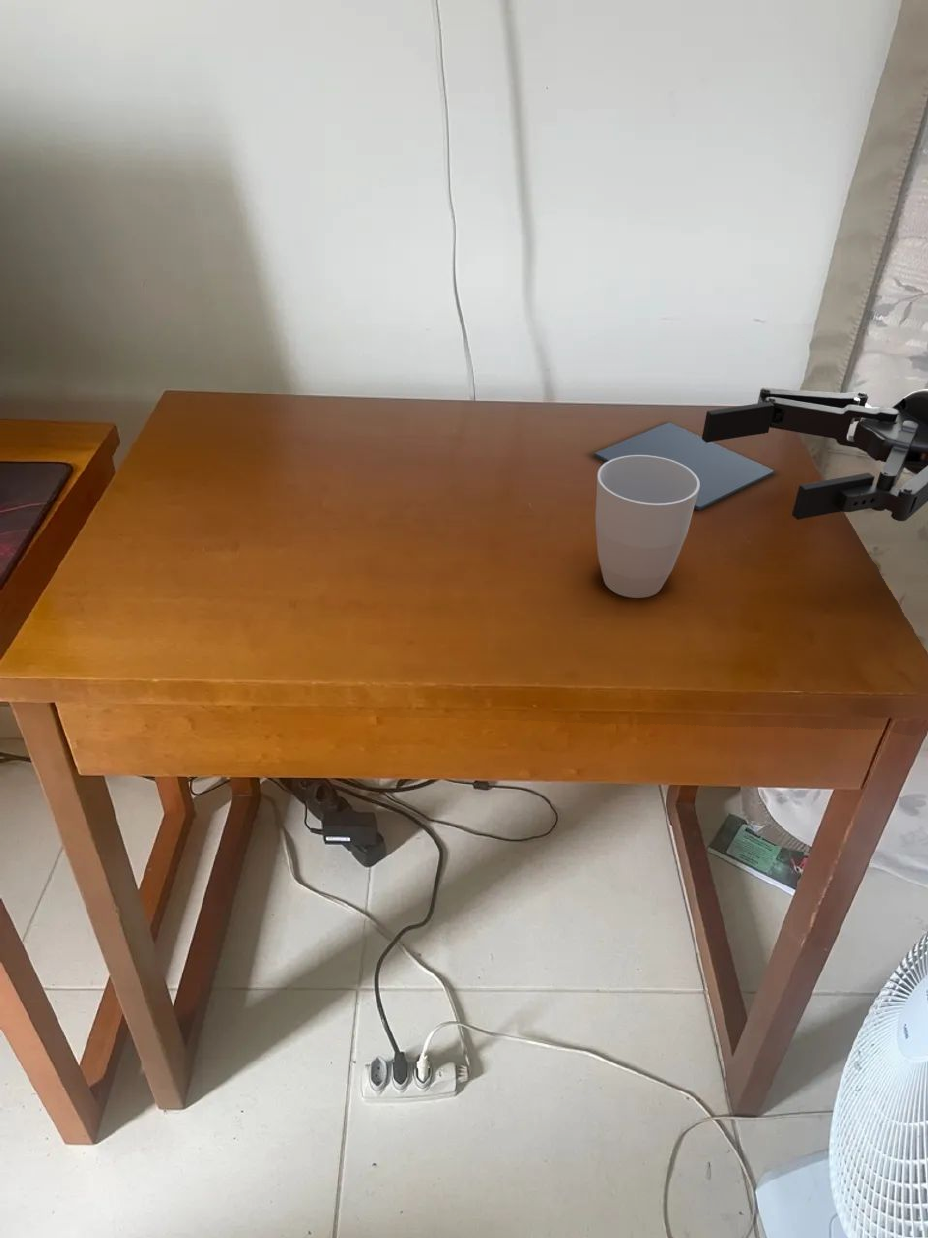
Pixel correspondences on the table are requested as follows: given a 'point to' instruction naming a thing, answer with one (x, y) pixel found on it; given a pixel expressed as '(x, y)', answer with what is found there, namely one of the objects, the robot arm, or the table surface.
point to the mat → (694, 461)
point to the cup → (642, 521)
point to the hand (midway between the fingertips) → (749, 462)
